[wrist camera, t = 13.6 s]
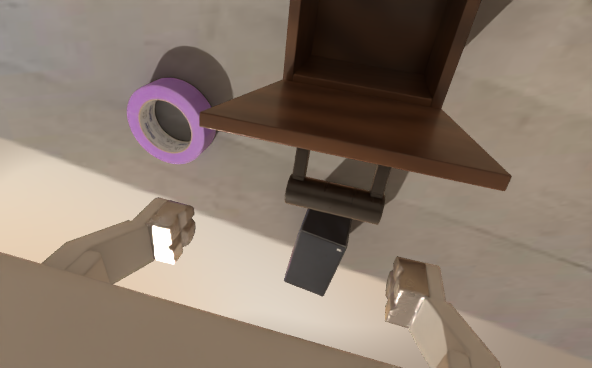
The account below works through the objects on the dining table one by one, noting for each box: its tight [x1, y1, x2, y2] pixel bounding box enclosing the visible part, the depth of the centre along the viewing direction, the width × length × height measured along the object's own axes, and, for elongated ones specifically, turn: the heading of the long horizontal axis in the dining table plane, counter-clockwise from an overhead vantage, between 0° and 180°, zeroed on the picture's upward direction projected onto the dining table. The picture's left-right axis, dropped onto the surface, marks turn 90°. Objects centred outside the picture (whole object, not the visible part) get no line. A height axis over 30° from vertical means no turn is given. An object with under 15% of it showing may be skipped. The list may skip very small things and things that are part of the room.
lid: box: [199, 80, 511, 225], centre depth 24 cm, size 17×15×5 cm
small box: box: [284, 209, 352, 296], centre depth 48 cm, size 11×6×10 cm, turn 166°
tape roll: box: [127, 78, 216, 164], centre depth 47 cm, size 12×12×4 cm
